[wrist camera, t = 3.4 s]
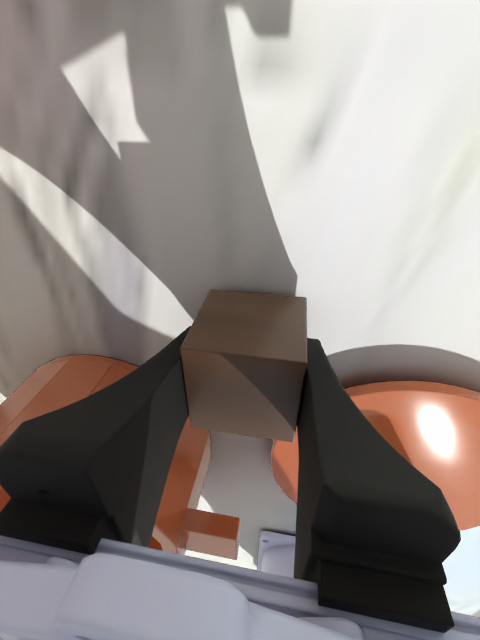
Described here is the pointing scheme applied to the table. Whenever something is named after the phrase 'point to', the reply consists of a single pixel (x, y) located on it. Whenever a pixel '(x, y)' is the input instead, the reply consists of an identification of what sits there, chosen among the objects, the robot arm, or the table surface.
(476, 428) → the lid
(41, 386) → the pot
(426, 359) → the table surface
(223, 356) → the block
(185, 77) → the table surface
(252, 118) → the table surface
